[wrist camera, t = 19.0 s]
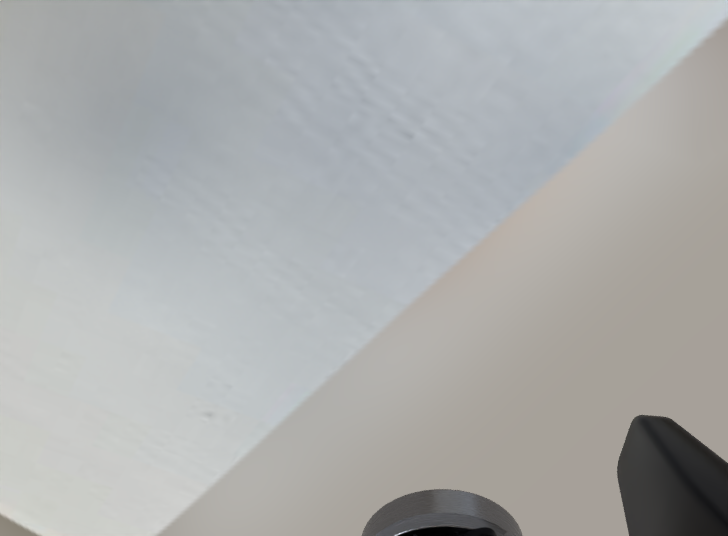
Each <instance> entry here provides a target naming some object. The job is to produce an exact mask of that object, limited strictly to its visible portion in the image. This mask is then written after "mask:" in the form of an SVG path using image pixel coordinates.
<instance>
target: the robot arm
mask: <svg viewBox="0 0 728 536" xmlns="http://www.w3.org/2000/svg"><path fill="white" fill-rule="evenodd" d="M617 474H618V482H619V487H620V492H621V497H622V502H623V507H624V512H625V517H626V522H627V527H628V531H629V536H728V463H727V462H726V461H724V460H723V459H722V458H721V457H719V456H718V455H717V454H715V453H714V452H713V451H712V450H710V449H709V448H708V447H707V446H705V445H704V444H703V443H701V442H700V441H699V440H698V439H696V438H695V437H694V436H692V435H691V434H690V433H689V432H687V431H686V430H685V429H684V428H682V427H681V426H680V425H678V424H677V423H676V422H674V421H673V420H672V419H670V418H667V417H661V416H648V415H639V416H637V417H635V418H634V419H633V421H632V423H631V425H630V428H629V431H628V434H627V437H626V440H625V443H624V446H623V448H622V451H621V454H620V457H619V461H618V467H617ZM445 536H497V535H496V533H495V531H494V530H493V529H491V528H488V527H481V528H476V529H472V530H467V531H463V532H458V533H454V534H449V535H445Z"/></svg>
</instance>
